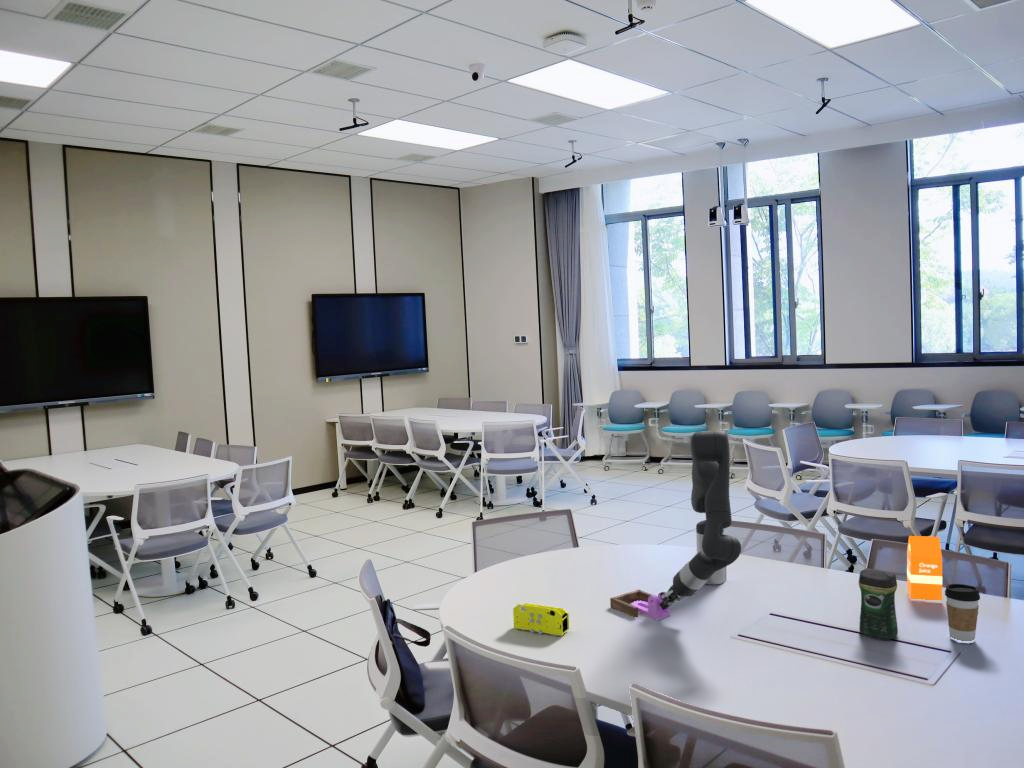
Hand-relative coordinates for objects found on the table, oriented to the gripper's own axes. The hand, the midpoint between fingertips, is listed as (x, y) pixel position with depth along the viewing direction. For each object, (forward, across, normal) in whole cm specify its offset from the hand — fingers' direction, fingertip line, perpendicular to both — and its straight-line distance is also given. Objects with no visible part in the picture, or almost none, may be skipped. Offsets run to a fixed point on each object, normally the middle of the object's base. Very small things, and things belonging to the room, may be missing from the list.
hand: (662, 606), depth 236 cm
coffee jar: (-30, -38, +36) cm, 60 cm away
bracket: (+8, 0, -2) cm, 8 cm away
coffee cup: (-42, -52, +48) cm, 82 cm away
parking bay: (+11, 0, -6) cm, 12 cm away
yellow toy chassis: (+14, +35, -9) cm, 38 cm away
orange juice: (-25, -75, +31) cm, 85 cm away
